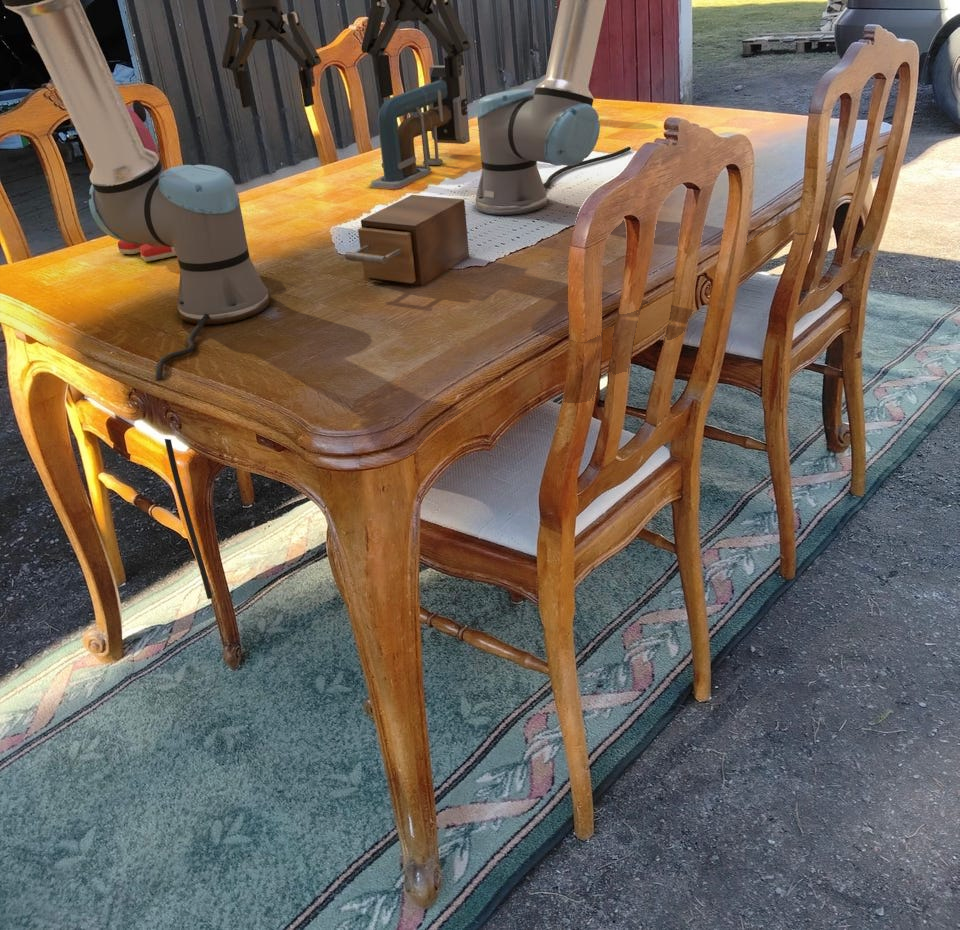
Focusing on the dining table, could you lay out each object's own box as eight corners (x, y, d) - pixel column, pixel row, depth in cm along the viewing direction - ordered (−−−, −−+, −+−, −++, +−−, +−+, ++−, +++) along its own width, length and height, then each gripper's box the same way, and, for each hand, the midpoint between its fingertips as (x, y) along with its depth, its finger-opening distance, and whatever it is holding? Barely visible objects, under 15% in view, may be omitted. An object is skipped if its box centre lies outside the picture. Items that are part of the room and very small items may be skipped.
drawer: (392, 295, 163) (386, 245, 159) (344, 288, 168) (336, 239, 163) (457, 256, 178) (452, 209, 174) (410, 250, 183) (405, 205, 178)
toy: (203, 253, 194) (168, 96, 179) (158, 268, 188) (118, 106, 172) (148, 236, 207) (111, 88, 192) (105, 250, 201) (62, 98, 186)
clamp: (398, 189, 225) (386, 93, 214) (367, 187, 229) (354, 92, 218) (470, 153, 251) (464, 65, 240) (441, 151, 255) (433, 65, 244)
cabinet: (421, 285, 169) (415, 225, 163) (368, 278, 174) (360, 219, 169) (469, 256, 181) (464, 199, 175) (418, 250, 186) (411, 194, 181)
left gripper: (327, -21, 177) (344, 101, 187) (211, -14, 184) (233, 102, 195) (308, -17, 171) (326, 109, 181) (188, -10, 178) (212, 110, 189)
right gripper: (484, -49, 151) (494, 93, 162) (355, -42, 163) (372, 91, 174) (460, -44, 146) (472, 103, 157) (328, -37, 157) (348, 100, 168)
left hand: (278, 106), depth 188 cm, fingers open, 13 cm apart
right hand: (420, 97), depth 165 cm, fingers open, 13 cm apart
